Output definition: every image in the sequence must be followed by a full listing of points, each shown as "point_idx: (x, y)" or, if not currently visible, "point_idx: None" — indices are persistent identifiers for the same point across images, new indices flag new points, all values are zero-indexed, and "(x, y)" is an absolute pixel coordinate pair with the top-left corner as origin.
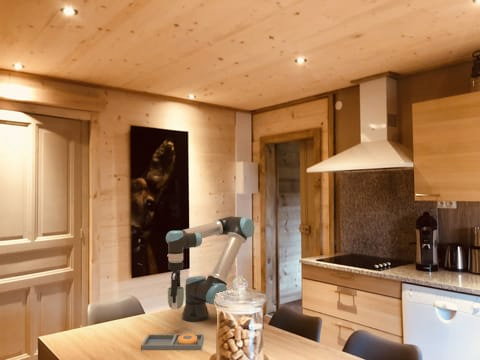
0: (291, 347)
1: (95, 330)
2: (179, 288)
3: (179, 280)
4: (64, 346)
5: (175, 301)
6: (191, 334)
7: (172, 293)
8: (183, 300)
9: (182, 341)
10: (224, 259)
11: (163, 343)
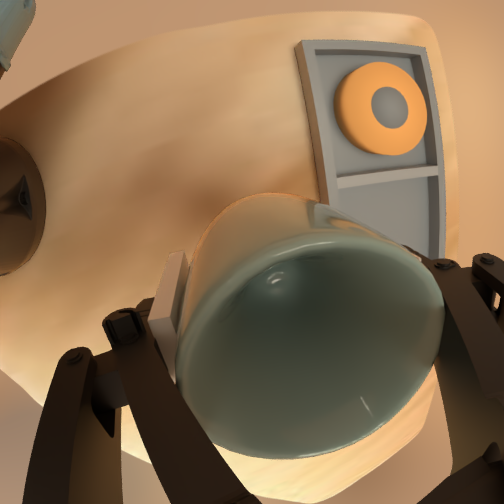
0: None
1: (259, 470)
2: (205, 343)
3: (74, 469)
4: (375, 455)
5: (406, 248)
6: (348, 93)
7: (491, 307)
8: (257, 194)
9: (424, 125)
10: None
11: (381, 220)
